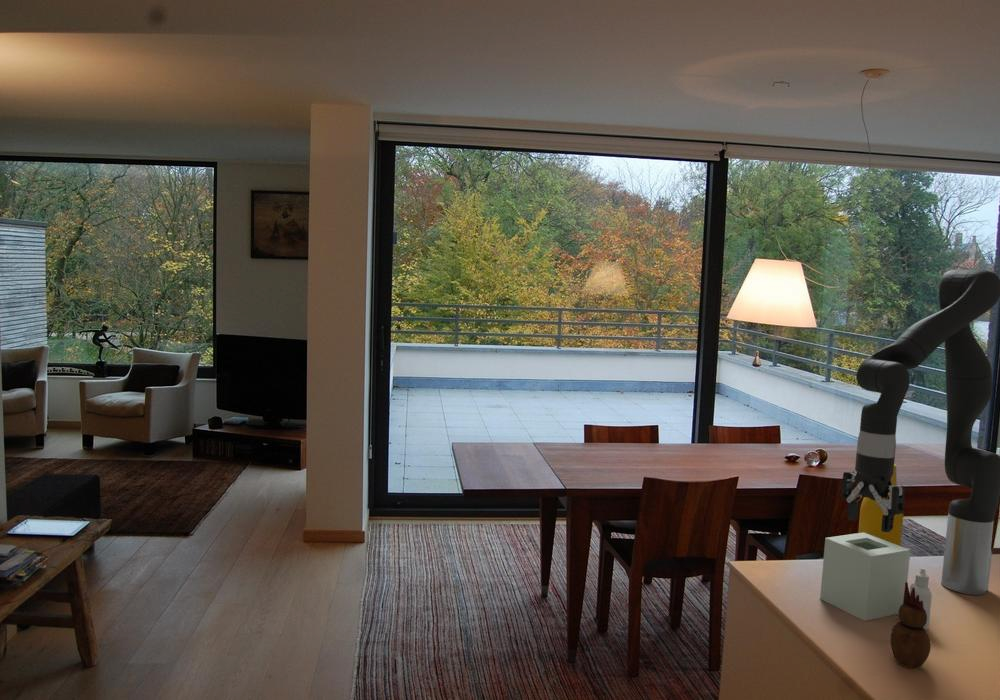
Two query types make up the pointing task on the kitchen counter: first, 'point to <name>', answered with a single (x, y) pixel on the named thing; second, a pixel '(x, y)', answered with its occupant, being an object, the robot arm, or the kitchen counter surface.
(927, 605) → the eye dropper bottle
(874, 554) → the tissue box
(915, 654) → the wooden figurine
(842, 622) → the kitchen counter surface
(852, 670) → the kitchen counter surface
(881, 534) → the beer bottle
